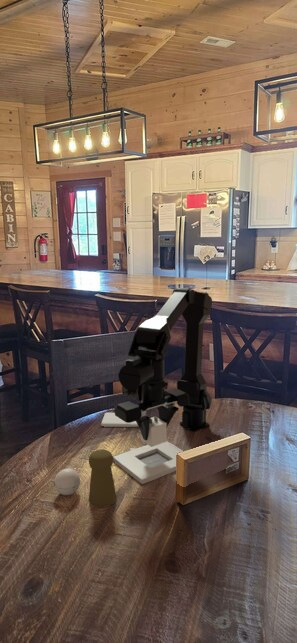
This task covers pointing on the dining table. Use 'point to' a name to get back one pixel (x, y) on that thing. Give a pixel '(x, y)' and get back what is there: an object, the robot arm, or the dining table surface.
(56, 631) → the dining table surface
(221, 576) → the dining table surface
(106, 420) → the external hard drive
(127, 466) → the outlet plate
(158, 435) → the charger brick
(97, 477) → the olive pawn
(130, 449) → the grey bar
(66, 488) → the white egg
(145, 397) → the robot arm
